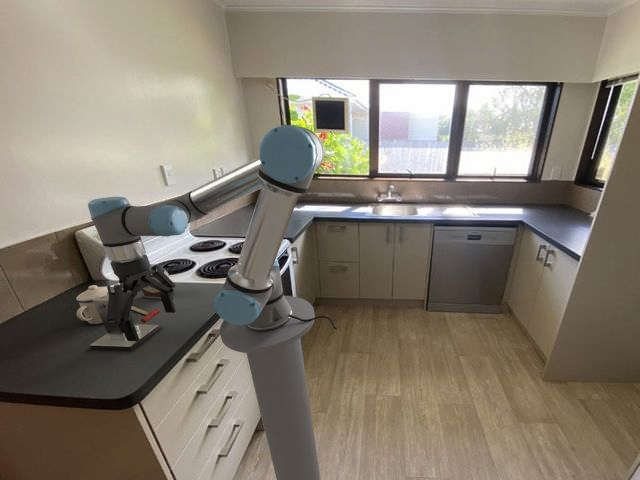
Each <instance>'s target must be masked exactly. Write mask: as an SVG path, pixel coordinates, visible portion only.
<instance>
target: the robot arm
mask: <svg viewBox="0 0 640 480" xmlns="http://www.w3.org/2000/svg"><path fill="white" fill-rule="evenodd" d="M324 159H325V148H324V144H323V141H322V140H321V138H320V136H318V134H317V133H315V132H314V131H313V130H311V129H309V128H306V127H301V126H296V125H294V124H282V125H280V126H277V127H274V128H272V129H270V130H269V131H267V133H265V135H264V136H263V138H262V139H261V141H260V144H259V148H258V157H255V158H253V159H251V160H249V161H248V162H245V163H244V164H242V165H240V166H238V167H236V168H233V169H232V170H230V171H227V172H226V173H224V174H222V175H220V176H218V177H216V178H214V179H212V180H209V181H208V182H206V183H204V184H202V185H200V186H198V187H196V188H194V189H192V190H190V191H188V192H186V193H184V194H181V195H180V196H177V197H175V198H172V199H169V200H166V201H162V202H158V203H156V204H151V205H138V206H137V205H131V203H130V201H129V200H128V198H127V197H124V196H107V197H99V198H94V199H91V200H90V201H89V202H88V203H87V207H88V211H89V214H90V220H91V221H92V222H93V225H94V228H95V229H96V232H97V234H98V236H99V238H100V241H101V244H102V246H103V249H104V252H105V254H106V256H107V259H108V260H109V261H110V263H109V265H110V266H111V269H112V272H113V274H114V276H116V277H117V278H118V283H115V284H108V285H107V286H106V287H107V289H108V293H109V300H108V312H107V324H115V325H118V326H119V329H120V331H121V332H122V333H124V334H125V336H126V339H127V341H138V340H140V339H139V337H138V334H137V332H136V330H135V327H134V325H133V322H132V320H131V319H128V317H129V314H130V310H131V307H132V306H133V304H134V299H135V297H136V296H137V295H138V292H142V291H141V290H142V289H143V288H146V287H148V286H150V287H153V288H155V289H157V290H159V291H161V292H163V293H161V294H160V297H161V299H160V300H161V302H162V303H161V304H162V305H163V308H164V312H165V313H167V314H168V313H169V314H170V313H171V314H175V313H176V312H177V310H176V308H175V305H174V297H173V294H172V293H174V292H175V287H176V284H175V283H174V281H173V280H172V279H171V278H169V276H168V277H167V276H166V275H165V274H164V272H163V271H162V270H161V268H162V267H161V266H160V265H159V264H155V263H154V264H151V263H150V260H149V257H148V255H147V254H146V253H147V251H146V248H145V246H144V242H143V239H142V237H167V238H168V237H171V236H172V237H173V236H180V235H182V234H184V233H185V232H186V229H187V228H188V226H189V224H191V223H193V222H195V221H198V220H200V219H203V218H204V217H206V216H208V215H209V214H212V213H213V212H216V211H218V210H219V209H222V208H223V207H226V206H228V205H230V204H232V203H234V202H236V201H238V200H240V199H242V198H245V197H247V196H249V195H250V194H253V193H254V192H257V191H259V194H258V197H257V199H256V203H255V206H254V210H253V213H252V216H251V219H250V222H249V226H248V229H247V232H246V235H245V238H244V241H243V244H242V248H241V251H240V254H239V257H238V260H237V263H236V265H233V266H231V267H230V268H229V269H228V271H227V274H226V278H225V281H224V284H223V287H222V289H221V290H220V291H219V292H217V294H216V295H215V297H214V299H213V303H212V304H213V310H214V312H215V313H216V315H218V317H219V318H220V319H221V320H223V321H226V322H228V323H231V324H234V325H246V327H247V328H248V329H249V330H252V331H256V332H265V331H271V330H274V329H277V328H279V327H281V326H283V325H285V324H286V323H287V322H288V321H289V320H290V319H291V317H292V318H295V319H298V320H300V321H304V322H307V321H312V320H314V321H315V320H317V319H321V318H323V319H327V320H328V321H329V322H330V323H331V326H332V327H333V329H334V330H335V331H336V330H338V328H337V327H336V325H335V322H334V321H333V319H332V318H331V317H330V316H328V315H319V316H318V315H317V316H315V317H314V318H312V319H307V320H304V319H301V318H298V317H295V316H292V310H291V307H290V305H289V304H288V302H287V300H286V299H285V297H284V296H285V294H284V288H283V283H282V277H281V270H280V264H279V260H278V257H277V256H278V254H279V251H280V248H281V245H282V243H283V240H284V237H285V235H286V231H287V229H288V226H289V223H290V221H291V218H292V216H293V212H294V210H295V208H296V204H297V201H298V198H300V197H303V196H305V195H307V193H308V190H309V188H310V185H311V183H312V180H313V178H314V175H315V172H316V171H318V169H319V168H320V167H321V166H322V164H323V161H324ZM151 274H152V275H153V276H154V277H155V278H156V279H157V280H159V281H160V282H161V283H162V284H161V283H159V282H157V280H155V279H153V278H151ZM121 316H122V318H121Z"/></svg>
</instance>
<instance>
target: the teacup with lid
mask: <svg viewBox="0 0 640 480" xmlns="http://www.w3.org/2000/svg"><path fill="white" fill-rule="evenodd" d="M107 292H108V289H107V286H98V285H95V284H92V285H89V286H88V289H87V290H85V291H83V292H81V293H79V294H78V295H77V296H76V300H75V301H76V303H78V304H79V308H78V309H77V310H76V317H77V318H78V319H79V320H80V321H82V322H87V323H88V324H90V325H98V324H103V322H102V320H101V317H100V315H99V313H98V311H97V309H96V306H95V304H94V302H93V300H94V299H95V298H103V297H105V296H107Z"/></svg>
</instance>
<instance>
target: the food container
mask: <svg viewBox="0 0 640 480" xmlns="http://www.w3.org/2000/svg"><path fill="white" fill-rule="evenodd" d="M160 268H161V270H162V271H163V272H164V274H165V275H166V276H167V277H168V278H169V273H168V271H167V270H166V269H165V268H163V267H160ZM151 278H153V279H155V280H157V279H156V278H155V277H154V276H153V275H152V274H151ZM157 282H159V283H161V282H160V281H159V280H157ZM161 284H162V283H161ZM140 292H141V294H142V295H143V298H151V299H160V300H161V297H160V294H161V293H163V292H161V291H159V290H157V289H155V288H153V287H150V286H148V287H146V288H143V289H142V290H141V291H140Z"/></svg>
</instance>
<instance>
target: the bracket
mask: <svg viewBox="0 0 640 480" xmlns="http://www.w3.org/2000/svg"><path fill="white" fill-rule="evenodd" d="M107 295H109V293H108V292H107ZM108 300H109V298H95V299H94V300H93V302H94V304H95V306H96V309H97V311H98V313H99V315H100V317H101V320H102V322H103V323H102V324H103V326H104V328H105V330H106V333H105V334H104V335H103V336H101V337H100V338H98V339H96V340H95V341H94V342H92V343H91V344H89V347H90V349H91V350H98V351H99V350H103V351H133V350H135V349H136V348H138V346H140V345H142V344H143V343H144V342H145V341H146V340H148V339H149V338H150V337H151V336H153V334H155V333H156V332H157V331H158V330H160V326H159V324H139V323H138V322H137V319H136V317H135V313H134V312H131V311H130V314H129V317H128V319H131V320H132V322H133V325H134V327H135V330H136V332H137V334H138V337H139V339H140V340H138V341H127V339H126V336H125V334H124V333H122V332H121V331H120V329H119V326H118V325H115V324H107V312H108ZM121 318H122V316H121Z"/></svg>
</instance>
